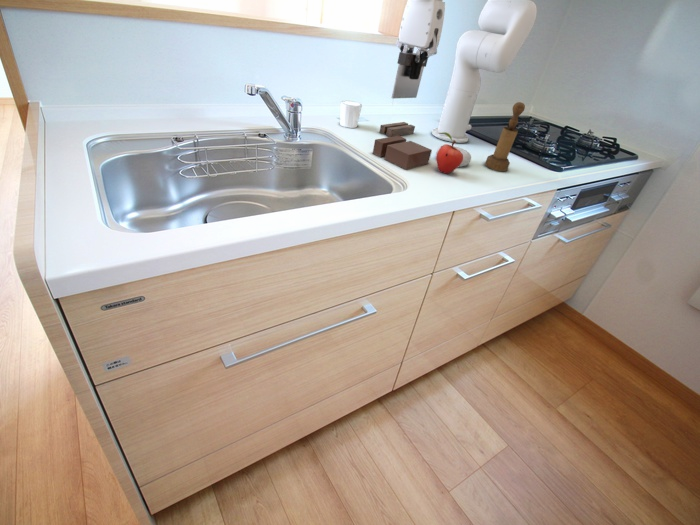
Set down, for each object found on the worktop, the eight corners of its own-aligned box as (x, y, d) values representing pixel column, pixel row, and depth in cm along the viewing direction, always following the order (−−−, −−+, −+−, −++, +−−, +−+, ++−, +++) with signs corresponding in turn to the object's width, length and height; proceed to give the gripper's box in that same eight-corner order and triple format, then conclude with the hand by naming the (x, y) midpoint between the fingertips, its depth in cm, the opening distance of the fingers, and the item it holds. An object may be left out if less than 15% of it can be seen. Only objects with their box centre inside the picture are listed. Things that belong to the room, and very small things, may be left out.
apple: (454, 168, 102) (466, 132, 96) (460, 178, 96) (472, 140, 90) (427, 164, 101) (437, 128, 95) (431, 174, 96) (442, 136, 90)
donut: (434, 164, 103) (470, 170, 102) (437, 152, 101) (474, 158, 100) (435, 153, 111) (468, 159, 110) (437, 141, 109) (471, 147, 108)
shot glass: (340, 120, 125) (342, 99, 121) (359, 124, 125) (363, 102, 121) (336, 126, 119) (339, 103, 115) (357, 129, 119) (360, 107, 115)
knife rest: (402, 129, 127) (404, 121, 126) (413, 133, 125) (415, 126, 123) (379, 132, 120) (380, 124, 118) (390, 137, 117) (392, 129, 116)
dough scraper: (412, 96, 103) (422, 53, 97) (418, 98, 102) (429, 55, 96) (388, 97, 97) (398, 51, 91) (395, 99, 96) (405, 53, 89)
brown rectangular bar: (395, 149, 108) (398, 135, 106) (403, 152, 107) (406, 138, 105) (372, 153, 102) (375, 139, 100) (380, 157, 101) (383, 143, 98)
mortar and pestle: (511, 172, 106) (538, 106, 96) (493, 171, 104) (518, 105, 94) (498, 163, 111) (522, 100, 101) (480, 162, 109) (503, 98, 99)
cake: (407, 154, 106) (410, 140, 104) (428, 163, 102) (432, 149, 100) (384, 159, 100) (387, 145, 98) (405, 169, 96) (409, 154, 94)
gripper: (465, -2, 84) (441, 85, 94) (412, -10, 93) (396, 71, 103) (446, -7, 79) (424, 85, 90) (392, -14, 88) (377, 70, 98)
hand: (409, 77), depth 96 cm, fingers closed on dough scraper, 2 cm apart
